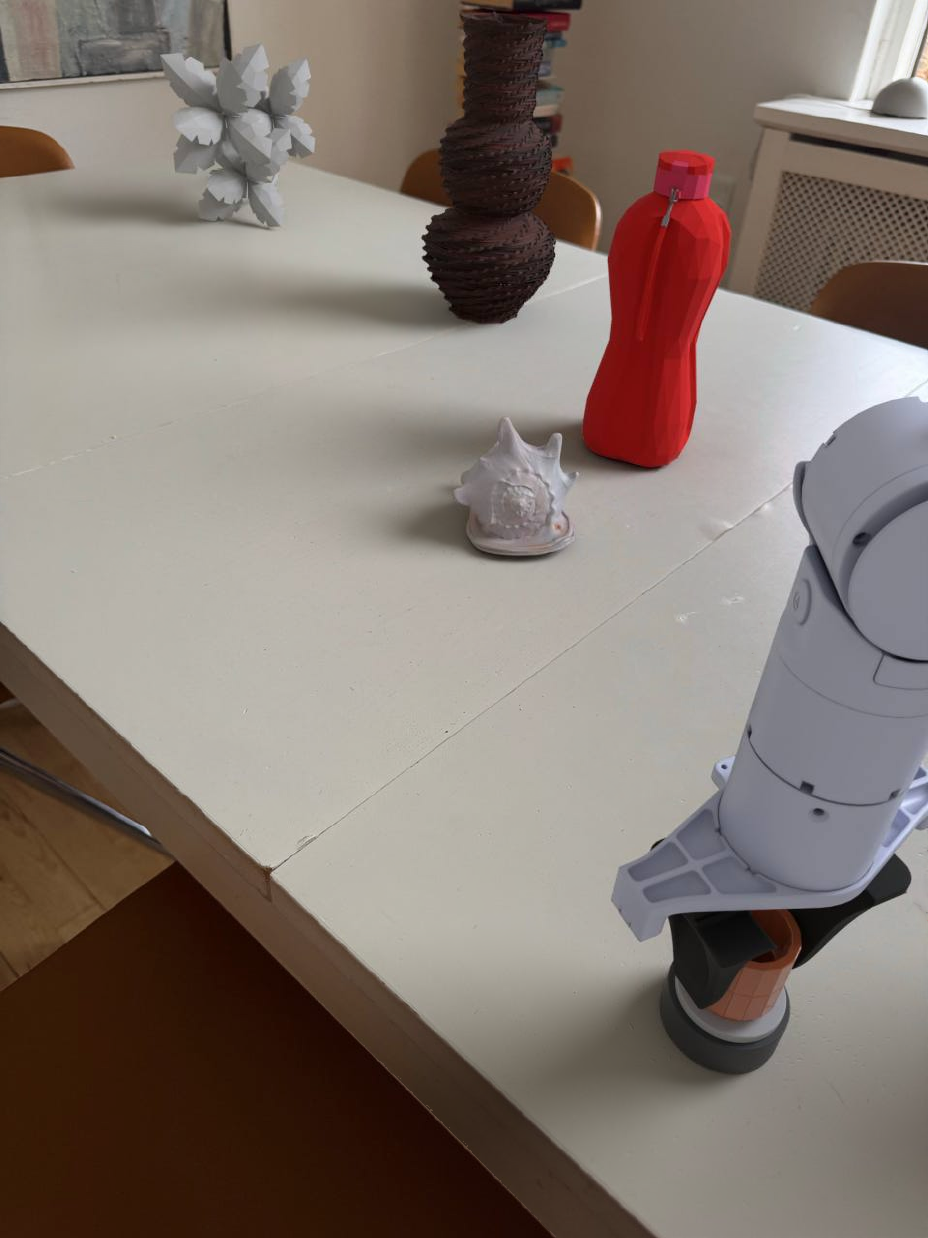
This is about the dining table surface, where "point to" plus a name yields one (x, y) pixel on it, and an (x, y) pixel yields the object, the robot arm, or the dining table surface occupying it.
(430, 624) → the dining table surface
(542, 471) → the seashell
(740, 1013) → the cup
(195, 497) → the dining table surface
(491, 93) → the vase
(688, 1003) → the push button
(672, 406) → the water bottle
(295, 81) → the flower bouquet
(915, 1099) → the dining table surface
